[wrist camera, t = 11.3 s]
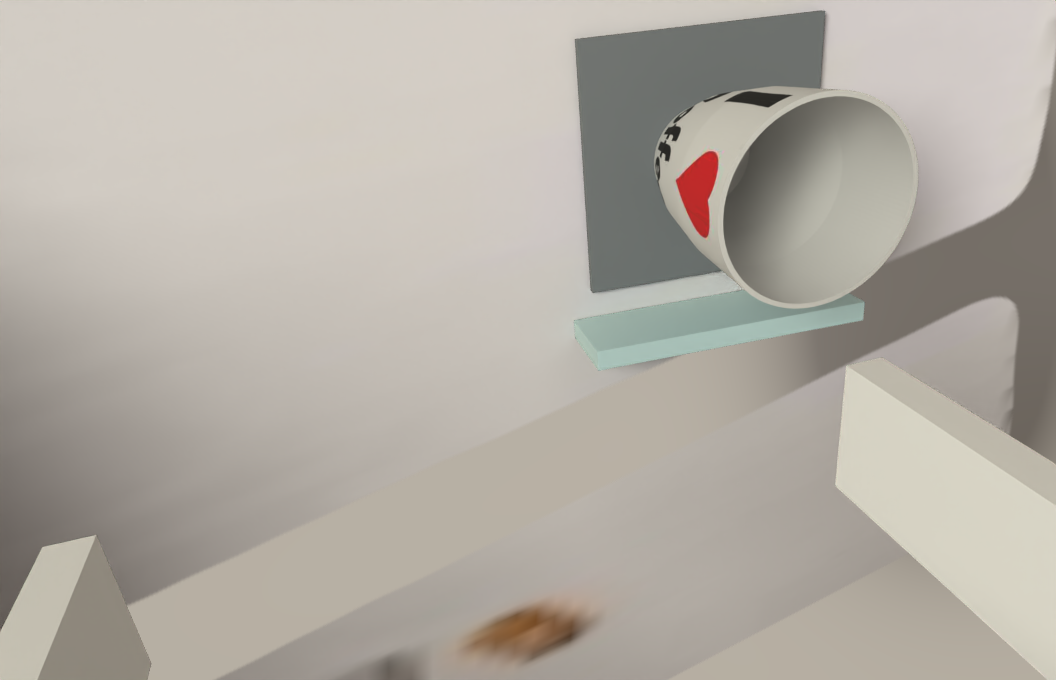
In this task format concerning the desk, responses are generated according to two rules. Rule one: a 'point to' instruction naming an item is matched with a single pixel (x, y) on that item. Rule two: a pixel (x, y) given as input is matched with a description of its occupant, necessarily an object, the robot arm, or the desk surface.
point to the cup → (790, 188)
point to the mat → (648, 107)
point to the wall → (701, 326)
